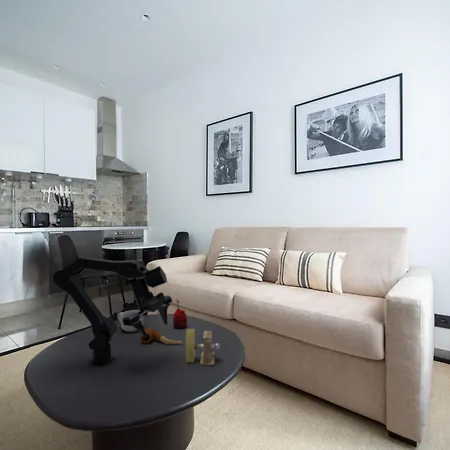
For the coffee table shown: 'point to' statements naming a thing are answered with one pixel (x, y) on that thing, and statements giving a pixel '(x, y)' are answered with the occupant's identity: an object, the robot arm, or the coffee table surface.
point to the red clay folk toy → (179, 318)
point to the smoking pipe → (157, 337)
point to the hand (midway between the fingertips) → (156, 330)
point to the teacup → (126, 327)
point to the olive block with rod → (194, 345)
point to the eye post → (207, 349)
